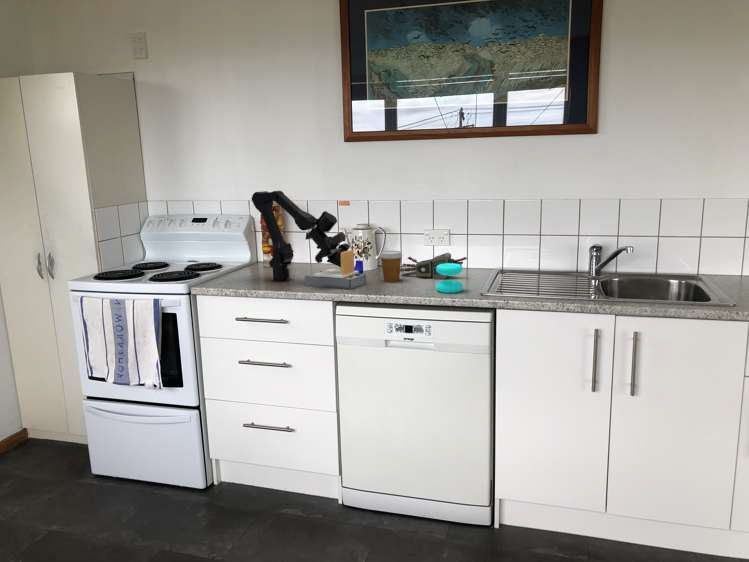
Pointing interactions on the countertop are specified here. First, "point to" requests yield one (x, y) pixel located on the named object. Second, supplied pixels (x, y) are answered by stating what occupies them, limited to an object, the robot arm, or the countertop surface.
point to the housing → (336, 281)
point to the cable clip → (359, 267)
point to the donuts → (449, 285)
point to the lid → (346, 267)
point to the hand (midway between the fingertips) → (345, 268)
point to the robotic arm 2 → (430, 266)
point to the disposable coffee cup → (391, 265)
